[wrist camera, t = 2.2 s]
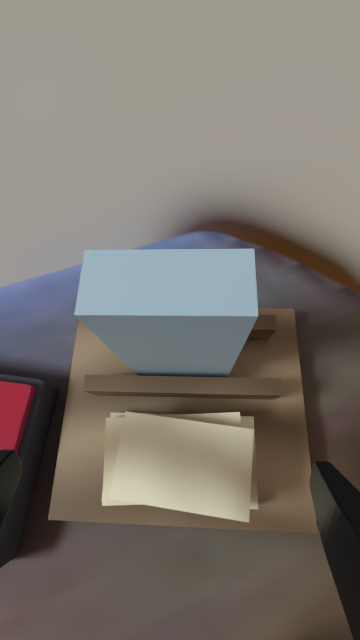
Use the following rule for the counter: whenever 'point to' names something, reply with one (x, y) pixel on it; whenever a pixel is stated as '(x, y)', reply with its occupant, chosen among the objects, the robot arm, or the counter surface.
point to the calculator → (23, 445)
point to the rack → (192, 398)
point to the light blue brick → (170, 307)
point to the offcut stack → (182, 463)
